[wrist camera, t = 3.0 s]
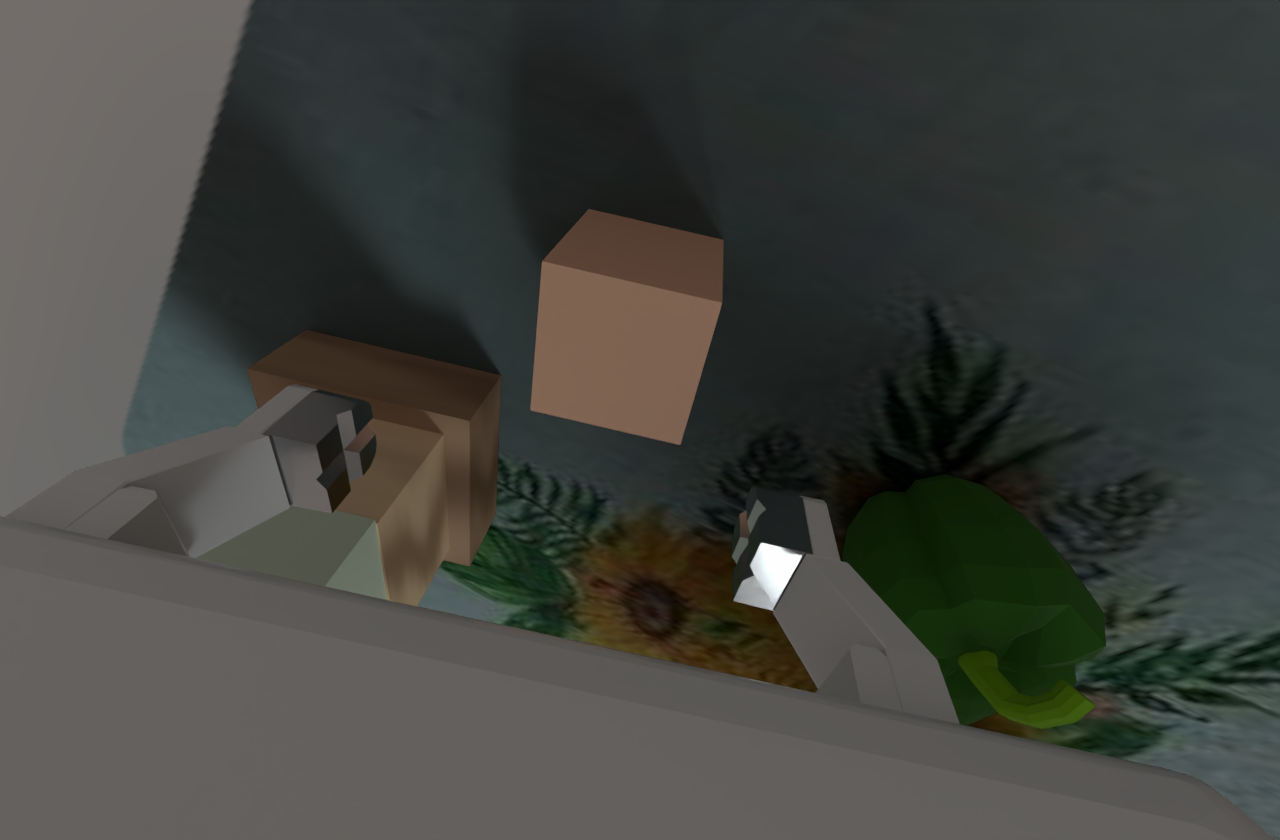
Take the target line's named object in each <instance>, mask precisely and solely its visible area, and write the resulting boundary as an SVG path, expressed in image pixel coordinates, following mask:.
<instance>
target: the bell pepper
mask: <svg viewBox="0 0 1280 840" xmlns="http://www.w3.org/2000/svg"><path fill="white" fill-rule="evenodd" d="M842 562H847V563H848V564H849V565H850V566H851V567H852V568H853V569H854V570H855V571H856V572H857V573H858V575H859V576H860V577H861V578H862V579H863V580H864V581H865V582H866V583H867V584H868V585H869V586H870V588H871V589H872V590H873V591H874V592H875V593H876V594H877V595H878V596H879V597H880V598H881V599H882V601H883V602H884V603H885V604H886V605H887V606H888V607H889V608H890V609H891V610H892V611H893V612H894V614H895V615H896V616H897V617H898V618H899V619H900V620H901V621H902V622H903V623H904V624H905V626H906V627H907V628H908V629H909V630H910V631H911V632H912V633H913V634H914V635H915V636H916V637H917V639H918V640H919V641H920V642H921V643H922V644H923V645H924V646H925V647H926V648H927V649H928V650H929V652H930V653H931V654H932V655H933V656H934V657H935V658H936V659H937V661H938V664H939V666H940V669H941V672H942V675H943V678H944V681H945V683H946V686H947V689H948V692H949V695H950V698H951V700H952V703H953V706H954V709H955V712H956V715H957V717H958V720H959V723H960V724H961V725H965V726H967V725H970V724H972V723H974V722H977V721H979V720H981V719H983V718H986V717H988V716H990V715H993V714H995V713H997V712H998V713H999V714H1000V715H1001V716H1004V717H1006V718H1007V719H1008V720H1011V721H1015V722H1018V723H1022V724H1025V725H1029V726H1032V727H1035V728H1039V729H1044V728H1049V727H1054V726H1059V725H1065V724H1070V723H1075V722H1077V721H1078V720H1079V719H1081V718H1082V717H1083V716H1084V715H1086V714H1087V713H1088V712H1089V711H1090V710H1092V709H1093V708H1094V707H1095V706H1096V705H1095V704H1094V703H1093V702H1092V701H1090V700H1089V699H1088V698H1087V697H1085V696H1084V695H1083V694H1081V693H1080V692H1079V691H1078V690H1076V689H1075V688H1074V685H1075V683H1076V675H1075V668H1074V664H1076V663H1079V662H1083V661H1086V660H1089V659H1092V658H1093V657H1094V656H1095V655H1097V654H1098V653H1099V652H1100V651H1101V650H1102V649H1103V648H1104V647H1105V646H1106V640H1105V628H1104V617H1103V611H1102V610H1101V608H1100V607H1099V605H1098V604H1097V603H1096V601H1095V600H1094V598H1093V597H1092V596H1091V594H1090V593H1089V591H1088V590H1087V588H1086V587H1085V586H1084V584H1083V583H1082V581H1081V580H1080V578H1079V577H1078V576H1077V574H1076V573H1075V571H1074V570H1073V568H1072V567H1071V566H1070V565H1069V564H1068V563H1067V561H1066V560H1065V559H1064V558H1063V557H1062V556H1061V555H1060V554H1059V552H1058V551H1057V550H1056V549H1055V548H1054V547H1053V546H1052V545H1051V543H1050V542H1049V541H1048V540H1047V539H1046V538H1045V537H1044V536H1043V535H1042V533H1041V532H1040V531H1039V530H1038V529H1037V528H1036V527H1035V526H1034V525H1032V524H1031V523H1030V522H1029V521H1028V520H1027V519H1026V518H1025V517H1023V516H1022V515H1021V514H1020V513H1019V512H1018V511H1017V510H1015V509H1014V508H1013V507H1012V506H1011V505H1010V504H1009V503H1008V502H1006V501H1005V500H1004V499H1002V498H1001V497H1000V496H998V495H997V494H995V493H994V492H993V491H991V490H990V489H989V488H987V487H986V486H984V485H980V484H977V483H974V482H970V481H967V480H964V479H960V478H957V477H953V476H950V475H947V474H945V475H939V476H934V477H929V478H924V479H919V480H915V481H914V482H913V484H912V485H911V486H910V487H909V488H908V489H907V490H906V492H894V491H884V492H882V493H879V494H877V495H875V496H872V497H870V498H868V499H867V501H866V502H865V504H864V506H863V507H862V508H861V510H860V511H859V513H858V514H857V515H856V517H855V518H854V519H853V521H852V522H851V524H850V525H849V526H848V528H847V532H846V537H845V543H844V548H843V559H842Z"/></svg>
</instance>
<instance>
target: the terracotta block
mask: <svg viewBox="0 0 1280 840" xmlns="http://www.w3.org/2000/svg"><path fill="white" fill-rule="evenodd" d="M723 246H724V240H722V239H717V238H713V237H709V236H705V235H700V234H696V233H692V232H687V231H683V230H679V229H674V228H670V227H666V226H661V225H657V224H653V223H648V222H644V221H640V220H635V219H631V218H627V217H622V216H618V215H614V214H609V213H605V212H601V211H596V210H592V209H588V210H587V212H586V213H585V214H584V215H583V216H582V217H581V218H580V219H579V220H578V222H577V223H576V224H575V225H574V226H573V227H572V228H571V229H570V230H569V232H568V233H567V234H566V235H565V236H564V237H563V238H562V239H561V241H560V242H559V243H558V244H557V245H556V246H555V247H554V248H553V249H552V251H551V252H550V253H549V254H548V255H547V256H546V257H545V258H544V260H543V261H542V268H541V281H540V294H539V306H538V319H537V332H536V344H535V357H534V370H533V383H532V395H531V408H530V410H531V411H536V412H540V413H544V414H549V415H553V416H557V417H561V418H566V419H570V420H574V421H579V422H583V423H587V424H592V425H596V426H600V427H604V428H609V429H613V430H617V431H622V432H626V433H630V434H634V435H639V436H643V437H647V438H652V439H656V440H660V441H665V442H669V443H673V444H677V445H681V441H682V438H683V435H684V431H685V428H686V424H687V421H688V418H689V414H690V411H691V407H692V404H693V401H694V397H695V394H696V391H697V387H698V384H699V380H700V377H701V374H702V370H703V367H704V363H705V360H706V357H707V353H708V350H709V346H710V343H711V340H712V336H713V333H714V330H715V326H716V323H717V319H718V316H719V313H720V309H721V306H722V296H723Z"/></svg>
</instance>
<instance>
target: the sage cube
mask: <svg viewBox="0 0 1280 840" xmlns="http://www.w3.org/2000/svg"><path fill="white" fill-rule="evenodd" d="M196 559H201V560H206V561H210V562H215V563H219V564H224V565H229V566H233V567H238V568H243V569H247V570H252V571H256V572H261V573H266V574H270V575H275V576H279V577H284V578H289V579H293V580H298V581H302V582H307V583H312V584H316V585H321V586H325V587H330V588H335V589H339V590H344V591H349V592H353V593H358V594H362V595H367V596H372V597H376V598H381V599H385V600H387V596H386V590H385V583H384V576H383V570H382V563H381V556H380V550H379V543H378V536H377V530H376V523H375V520H374V519H370V518H366V517H361V516H357V515H353V514H349V513H344V512H340V511H336V510H335V511H334V512H333V513H327V512H322V511H316V510H311V509H306V508H301V507H295V506H290V508H289V509H287V510H285V511H283V512H281V513H279V514H277V515H275V516H274V517H272V518H270V519H268V520H266V521H264V522H262V523H260V524H259V525H257V526H255V527H253V528H251V529H249V530H247V531H245V532H243V533H242V534H240V535H238V536H236V537H234V538H232V539H230V540H228V541H227V542H225V543H223V544H221V545H219V546H217V547H215V548H213V549H211V550H210V551H208V552H206V553H204V554H202V555H200V556H198V557H196Z"/></svg>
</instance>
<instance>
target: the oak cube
mask: <svg viewBox="0 0 1280 840" xmlns="http://www.w3.org/2000/svg"><path fill="white" fill-rule="evenodd" d="M368 426H369V427H370V428H371V429H372V430H373V432H374V433H375V434H376V441H377V446H376V454H375V457H374V459H373V462H372V464H371V467H370V468H369V469H368V470H367V472H366V473H365V474H364V476H362V477H360V478H358V479H355V480H353V481H351V482H350V488H351V491H350V493H349V494H348V495H347V496H346V497H345V499H344V500H343V501H342V502H341V504H340V505H339V506H338V507H337V508H336V511H340V512H344V513H349V514H353V515H357V516H361V517H366V518H370V519H374V520H375V523H376V530H377V536H378V543H379V550H380V556H381V563H382V570H383V576H384V583H385V590H386V596H387V600H390V601H395V602H399V603H404V604H408V605H413V606H418V604H419V602H420V600H421V598H422V597H423V595H424V593H425V591H426V590H427V588H428V586H429V584H430V582H431V581H432V579H433V577H434V575H435V573H436V572H437V570H438V568H439V566H440V565H441V563H442V561H443V559H444V557H445V556H446V554H447V552H448V550H449V548H450V547H449V528H448V508H447V489H446V469H445V450H444V434H440V433H435V432H431V431H426V430H422V429H417V428H413V427H408V426H404V425H400V424H395V423H391V422H386V421H382V420H377V419H373V418H372V419H371V420H370V421H369V423H368Z"/></svg>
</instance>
